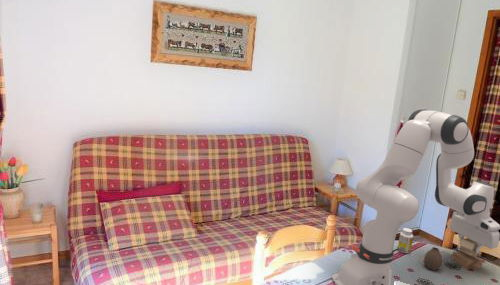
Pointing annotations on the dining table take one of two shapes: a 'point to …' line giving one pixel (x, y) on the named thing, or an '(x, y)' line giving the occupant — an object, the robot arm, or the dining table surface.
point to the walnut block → (467, 260)
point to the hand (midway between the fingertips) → (469, 248)
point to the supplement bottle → (405, 240)
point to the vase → (433, 259)
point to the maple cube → (468, 246)
